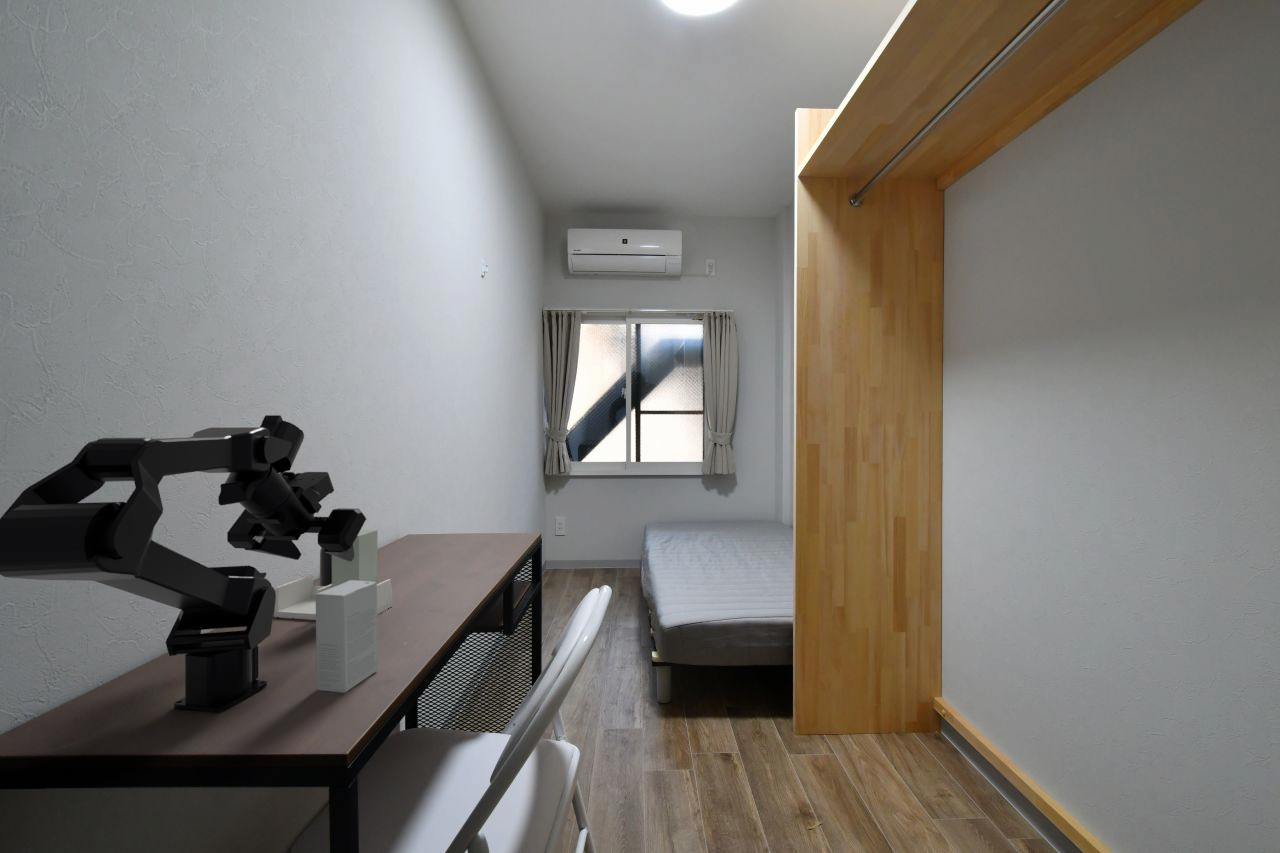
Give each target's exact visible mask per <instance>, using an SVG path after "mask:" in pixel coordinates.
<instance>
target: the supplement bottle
mask: <svg viewBox="0 0 1280 853" xmlns="http://www.w3.org/2000/svg"><path fill="white" fill-rule="evenodd" d="M324 550H325V549H324V548H321V547H320V550H319V586H328V585H330V584H332V555H331V554H328V553H326V552H324Z"/></svg>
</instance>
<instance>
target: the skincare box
mask: <svg viewBox="0 0 1280 853" xmlns="http://www.w3.org/2000/svg"><path fill="white" fill-rule="evenodd" d="M315 597H316V620H315V650H316V651H315V653H316V656H315V658H316V659H315V660H316V661H315V662H316V689H317V691H323V692H332V693H333V692H334V693H343V694H344V693H347V692H348V691H349V690H351V689H353V688H354V687H356V686H357V685H358V684H360V683H362V682H363V681H364V680H366V679H368V678H369V677H370V676H372V675H373V674H374V673H375V674H376V673H377V671H378V670H379V662H378V661H379V646H378V615H377V583H376V582H370V581H356V580H350V581H347V582H345V583H343V584H340V585H338V586H335V587H333V588H330V589H327V590H325V591H322V592H320V593H317V594H316V595H315Z"/></svg>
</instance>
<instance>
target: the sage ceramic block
mask: <svg viewBox="0 0 1280 853" xmlns="http://www.w3.org/2000/svg"><path fill="white" fill-rule="evenodd" d="M353 548H354V555H355V556H354V558H353V560H352V561H347V560H344V559H341V558H339V557H336V556H334V555H332V588H333V587H335V586H338V585H340V584H343V583H345V582H347V581H350V580H356V581H370V582H376V583H377V584H379V583H378V530H377V529H375V530H374V529H361V530H360V532H359V534H358V535H357V537H356V539H355V541H354V543H353Z"/></svg>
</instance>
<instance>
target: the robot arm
mask: <svg viewBox="0 0 1280 853" xmlns="http://www.w3.org/2000/svg"><path fill="white" fill-rule="evenodd" d="M304 439H305V433H304V431H303V430H302V429H301V428H300V427H298V426H297V425H295V424H294V423H292V422H290V421H287V420H283V417H282V416H281V415H279V414H277V415H275V414H273V415H271V414H269V415H268V414H267V415H265V416H264V417H263V419H262V421H261V423H260V426H258V427H256V426H255V427H242V426H241V427H208V428H204V429H201V430H198V431H195V432H194V433H193V435H192V436H189V437H167V438H165V437H163V438H152V437H102V438H99V439H97V440H93V441H90V442H89V441H88V443H86V445H84V446H83V447H82V448H81V449H80V451H79V452H78V453H77V455H76V456H75V457H74V458H73V459H72V460H71V461H70V462H69V463H67V464H66V465H64V466H62V467H60V468H59V469H57V470H55V471H53V472H52V473H50V474H48V475H47V476H45V477H44V478H42V479H40V480H38V481H37V482H35V483H33V484H32V485H29V486H28V487H27V488H25V489H24V490H23V491H22V492H21V493H20V494H19V496H18V497H17V498H16V499H15V500H14V502H13V503H12V504H11V505H10V506H9V508H8V509H7V510H6V511H5V512H4V513H3V514H2V516H0V575H1V576H2V577H5V578H11V579H22V580H25V579H26V580H39V581H87V582H88V581H89V582H91V581H92V582H96V583H99V584H102V585H106V586H109V587H111V588H114V589H117V590H120V591H123V592H127V593H130V594H133V595H135V596H139V597H142V598H145V599H147V600H151V601H154V602H157V603H159V604H163V605H166V606H170V607H172V608H175V609H178V610H180V611H179V614H178V616H177V618H176V619H175V622H174V624H173V626H172V628H171V630H170V632H169V634H168V636H167V638H166V640H165V645H166V646H165V647H166V649H167V653H168V655H169V656H170V657H172V656H174V657H175V656H177V655H184V661H185V662H184V668H185V669H184V674H185V675H184V676H185V677H184V678H185V679H184V680H185V681H184V682H185V683H184V685H185V686H184V688H185V690H184V691H185V692H184V693H185V694H184V695H185V696H184V697H183V698H180V699H178V700H176V701H175V702H173V708H175V709H184V710H196V711H204V712H211V713H212V712H215V713H217V712H223V711H225V710H226V709H228V708H230V707H232V706H234V704H237V703H239V702H240V701H242V700H244V699H245V698H248V697H249V696H251V695H252V694H254V693H256V692H258V691H260V690H262V689H264V688H265V687H267V686H268V680H262V679H261V680H260V679H258V678H259V646H258V645H259V644H261V643H262V642H263V641H265V640H266V639H267V638H268V637H270V636H271V631H272V625H273V620H274V611H275V601H276V593H275V588H274V587H273V585H272V583H271V582H270V581H269V580H268V579H267V578H266V577H267V572H260V571H259V570H258V569H257V568H256V567H255V566H251V565H231V566H230V565H229V566H214V567H213V566H212V567H210V566H209V567H208V566H206V565H204V564H202V563H200V562H198V561H196V560H193V559H192V558H190V557H188V556H185V555H183V554H181V553H179V552H178V551H175V550H173V549H171V548H169V547H167V546H164V545H163V544H161V543H160V542H159V543H158V542H157V541H154V540H153V539H152V538H153V534H154V530H155V527H156V525H157V523H158V522H159V520H160V518H161V516H162V515H163V512H164V507H163V502H162V498H161V494H160V490H159V484H160V483H161V481H162V480H163V478H164V477H166V476H175V475H180V474H188V473H195V472H199V473H207V474H220V473H221V474H225V473H227V474H229V475H228V477H227V478H226V480H225V482H224V483H221V484H220V493H219V494H218V497H217V499H218V504H219V506H227V505H233V504H240V505H241V506H242V508H244V509H243V511H242V513H241V514H240V515H239V516H238V517H237V519H236V521H235V522H234V523H233V524H232V526H231V527H230V528H229V530H228V531H227V532H226V534H227V536H226V537H227V543H228V544H229V545H231V546H232V548H234V549H244V550H245V551H251V552H256V553H261V554H267V555H270V556H271V555H272V556H277V557H281V558H286V559H291V560H295V561H298V560H300V559H301V556H302V553H301V551H300V550H299V547H298V546H297V545H296V544H295V543H294V541H298V540H299V539H300V538H301V536H302V535H304V534H305V533H306V534H317V545H318V546H319V547H320V549H321V548H324V549H325V550H324V552H326V553H328V554H331V555H334V556H336V557H339V558H341V559H344V560H347V561H352V560H353V558H354V556H355V555H354V548H353V543H354V541H355V539H356V537H357V535H358V534H359V532H360V530H362V528H363V526H364V524H365V522H366V521H367V517H366V515H365V514H364V513H363V512H362V510H361V509H360V508H345V507H343V508H342V507H340V508H335V509H332V510H331V512H330V514H329V515H328V516H315V514H318V513H319V512H320V510H321V508H322V506H323V505H322V504H321V503H320V502H321V501H323V500H324V499H325V498H326V497H327V496H329V495H331V494H333V493H334V491H335V489H334V485H333V483H332V480H331V476H330V474H329V472H327V471H306V472H305V471H304V472H297V473H295V472H293V471H291V468H292V466H293V464H294V462H295V460H296V457H297V455H298V453H299V450H300V448H301V446H302V444H303V442H304ZM106 482H107V483H108V482H111V483H112V482H113V483H114V482H133V483H134V486H135V488H134V490H133V492H132V493H131V495H130V496H129V498H127V501H126V502H124V501H108V502H107V501H105V502H98V501H97V502H81V501H83V500H85V499H86V498H88V497H90V496H91V495H92V494H94V493H96V492H97V491H99V490H100V489H101V488H102V487H103V486H104V485H105V484H106ZM234 628H246V629H245V630H235V631H234V630H231V631H217V632H206V633H202V630H203V631H204V630H216V629H217V630H219V629H234Z"/></svg>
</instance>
